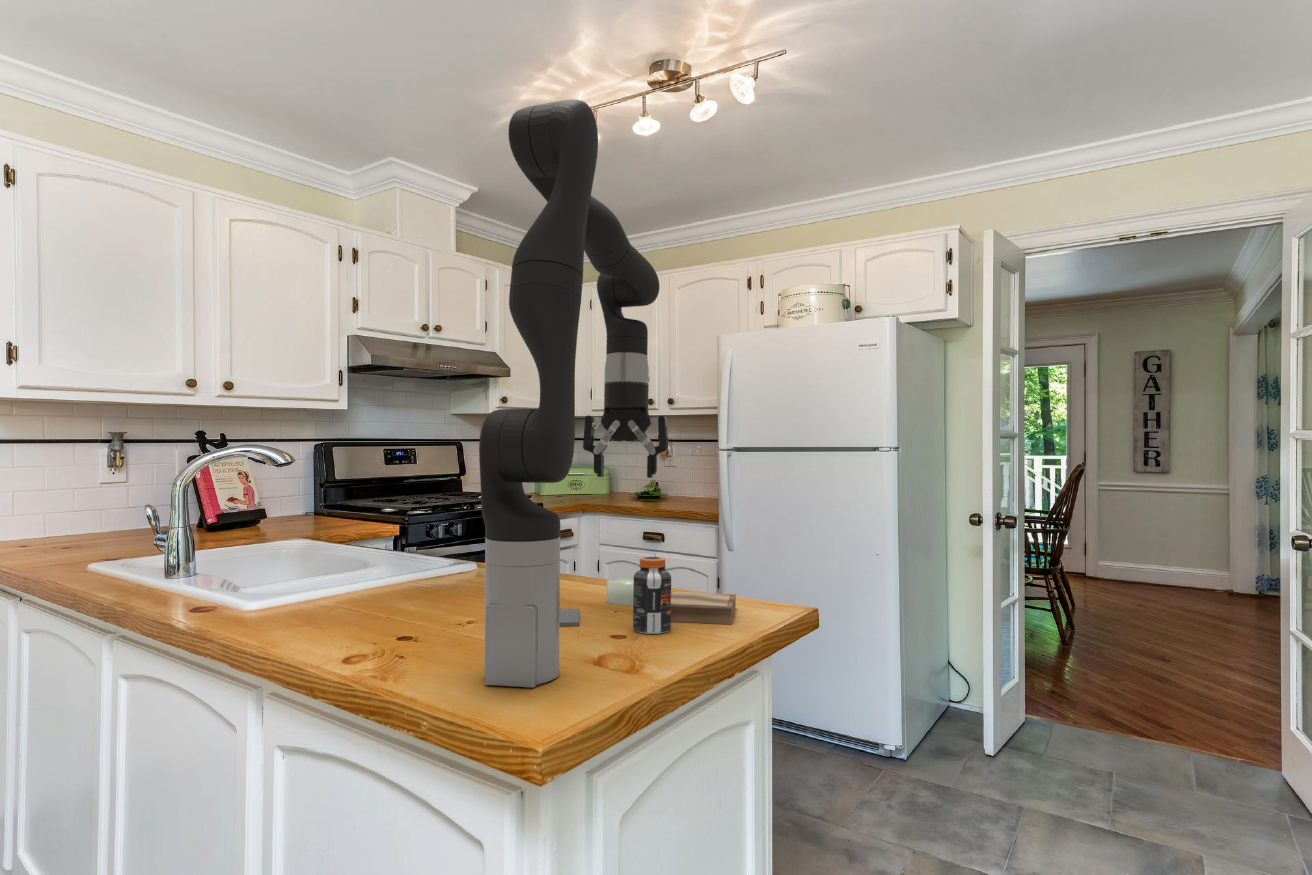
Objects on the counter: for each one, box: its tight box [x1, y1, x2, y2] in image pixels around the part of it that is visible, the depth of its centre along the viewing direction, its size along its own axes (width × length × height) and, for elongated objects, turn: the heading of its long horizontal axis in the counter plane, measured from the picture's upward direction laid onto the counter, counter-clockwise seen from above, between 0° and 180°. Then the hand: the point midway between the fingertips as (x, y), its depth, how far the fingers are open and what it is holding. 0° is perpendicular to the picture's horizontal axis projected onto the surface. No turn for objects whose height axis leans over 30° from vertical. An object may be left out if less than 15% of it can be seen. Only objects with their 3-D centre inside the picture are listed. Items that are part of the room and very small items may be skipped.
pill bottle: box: [632, 556, 672, 635], centre depth 116 cm, size 6×6×11 cm
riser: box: [671, 591, 737, 625], centre depth 127 cm, size 12×12×3 cm
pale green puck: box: [606, 576, 634, 607], centre depth 138 cm, size 8×8×4 cm
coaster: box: [560, 608, 580, 627], centre depth 123 cm, size 10×10×1 cm
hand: (625, 477), depth 126 cm, fingers open, 8 cm apart
